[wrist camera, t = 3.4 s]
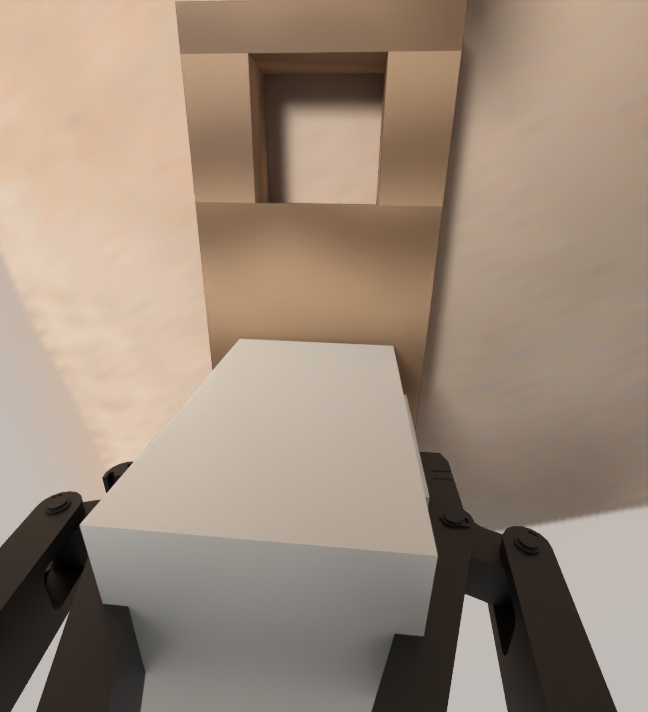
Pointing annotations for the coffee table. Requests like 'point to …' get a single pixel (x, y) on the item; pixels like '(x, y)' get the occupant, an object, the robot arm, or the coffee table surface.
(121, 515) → the block
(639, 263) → the coffee table surface
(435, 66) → the board
